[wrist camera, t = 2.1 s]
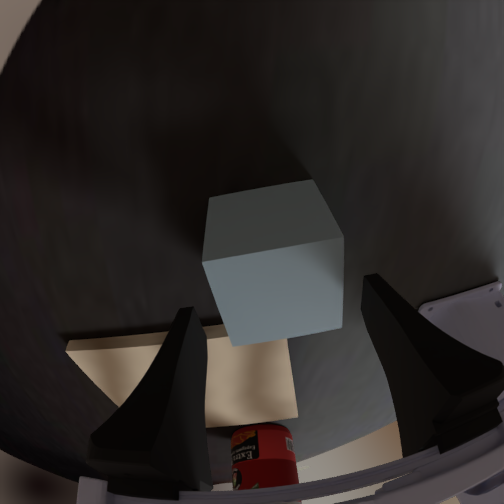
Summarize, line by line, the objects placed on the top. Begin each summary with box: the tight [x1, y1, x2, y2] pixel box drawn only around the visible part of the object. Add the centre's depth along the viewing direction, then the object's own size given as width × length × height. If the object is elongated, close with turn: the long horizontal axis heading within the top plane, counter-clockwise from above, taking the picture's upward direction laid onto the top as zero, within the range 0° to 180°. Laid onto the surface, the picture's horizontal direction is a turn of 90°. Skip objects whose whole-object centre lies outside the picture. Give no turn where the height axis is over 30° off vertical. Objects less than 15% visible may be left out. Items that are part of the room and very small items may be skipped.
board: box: [66, 324, 298, 428], centre depth 27 cm, size 18×16×1 cm
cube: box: [202, 179, 344, 347], centre depth 16 cm, size 6×6×6 cm
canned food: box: [231, 424, 302, 504], centre depth 31 cm, size 8×8×11 cm
